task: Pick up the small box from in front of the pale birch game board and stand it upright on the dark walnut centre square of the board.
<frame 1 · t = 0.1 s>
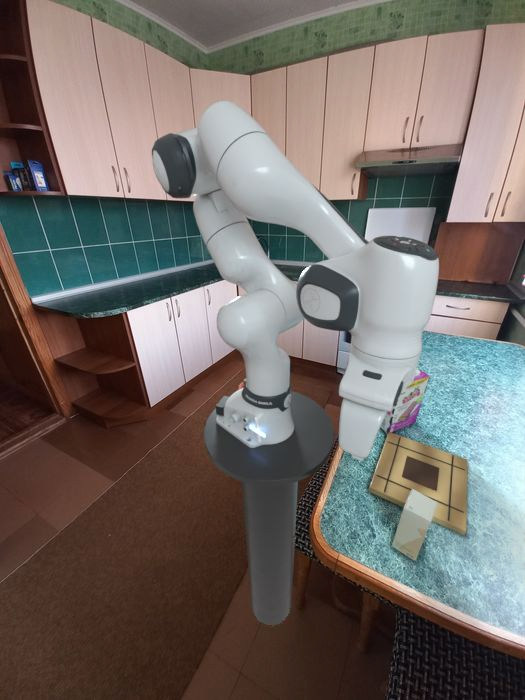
hand: (366, 436, 47), 24 cm above the table, tool pointing down, fingers open, 8 cm apart
candy bar box: (395, 424, 83), on the table
box: (407, 542, 55), on the table
board: (419, 477, 67), on the table
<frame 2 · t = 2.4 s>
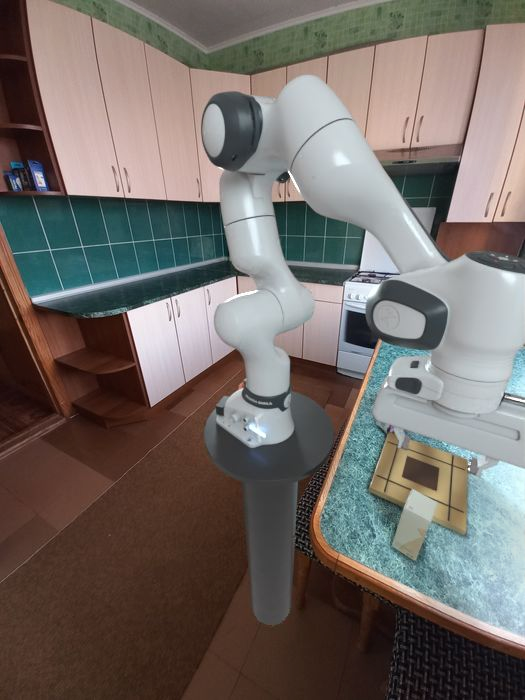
hand: (436, 458, 44), 22 cm above the table, tool pointing down, fingers open, 8 cm apart
nothing on the table moved.
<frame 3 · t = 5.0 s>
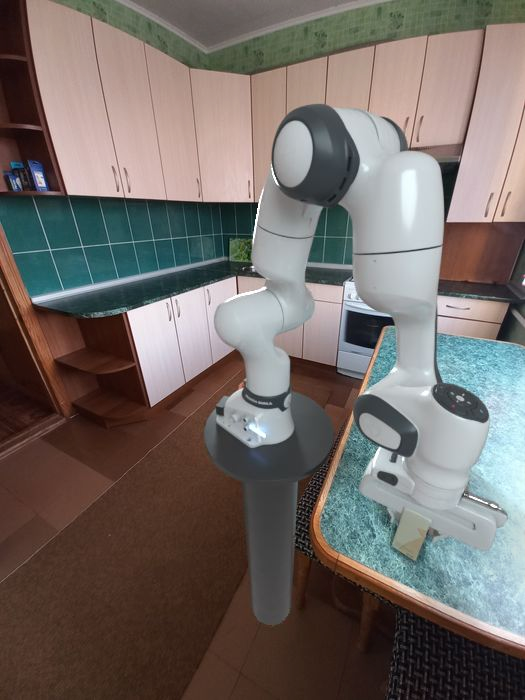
hand: (411, 529, 53), 4 cm above the table, tool pointing down, fingers closed on box, 4 cm apart
box: (407, 543, 55), on the table, touching gripper
everything else where it was.
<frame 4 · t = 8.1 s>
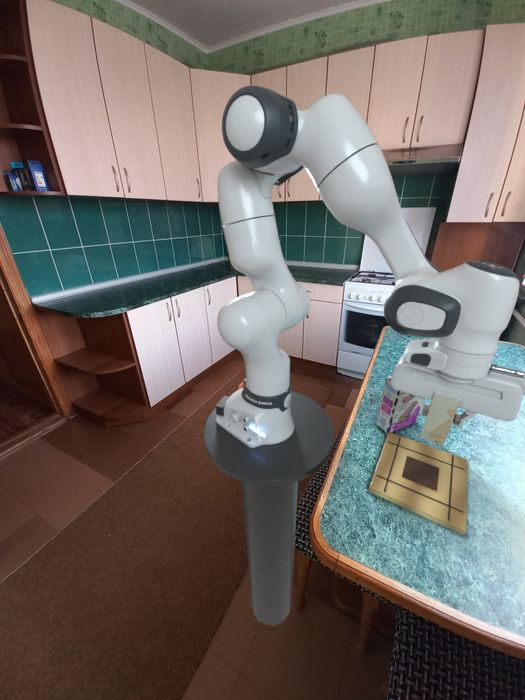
hand: (439, 418, 57), 19 cm above the table, tool pointing down, fingers closed on box, 4 cm apart
box: (434, 435, 59), point 15 cm above the table, touching gripper
everything else where it was.
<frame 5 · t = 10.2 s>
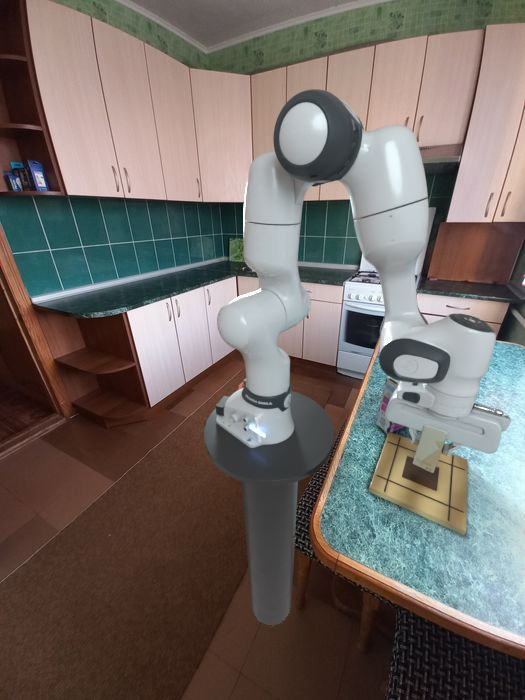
hand: (429, 447, 63), 9 cm above the table, tool pointing down, fingers closed on box, 4 cm apart
box: (425, 461, 65), point 5 cm above the table, touching gripper
everything else where it was.
when the fingers open (6 cm above the table, at t = 11.6 s): box stays where it is, resting on board.
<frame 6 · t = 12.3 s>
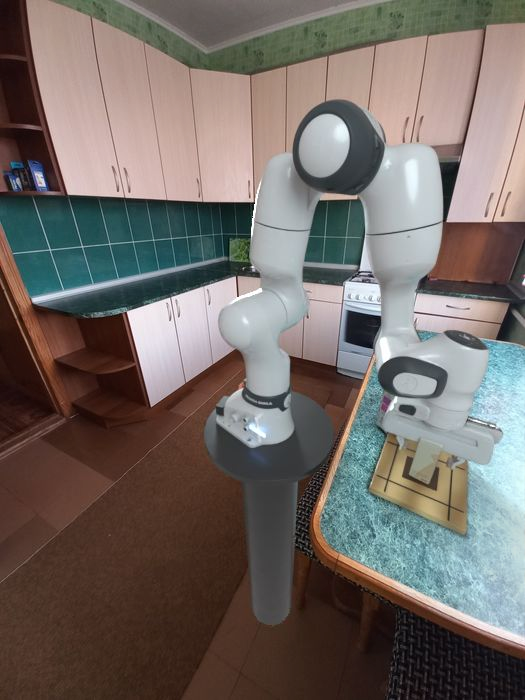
hand: (425, 457, 65), 6 cm above the table, tool pointing down, fingers open, 8 cm apart
box: (421, 473, 66), point 1 cm above the table, touching board
everything else where it was.
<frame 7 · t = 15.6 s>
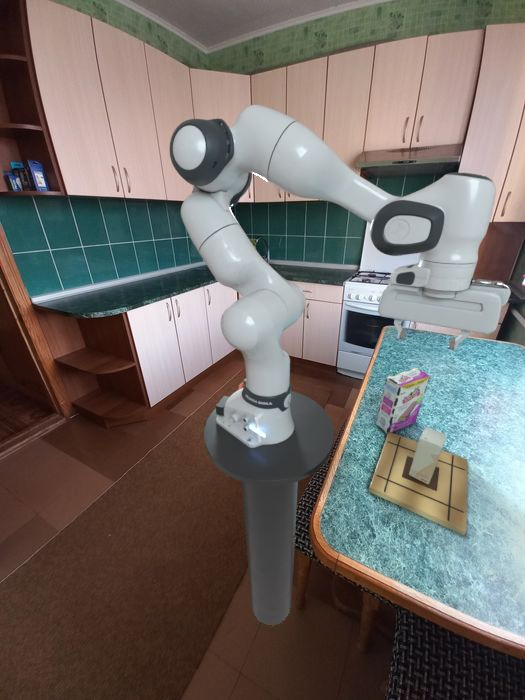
hand: (425, 343, 59), 31 cm above the table, tool pointing down, fingers open, 8 cm apart
nothing on the table moved.
at the end: box 0.1 cm from the target spot, point 1.5 cm above the table; box tilted 0°; the gripper is holding nothing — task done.
